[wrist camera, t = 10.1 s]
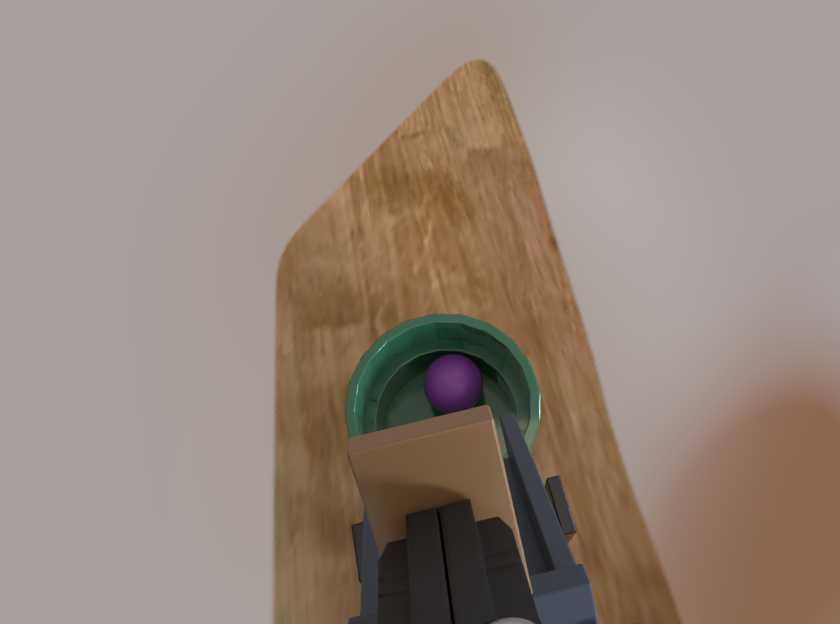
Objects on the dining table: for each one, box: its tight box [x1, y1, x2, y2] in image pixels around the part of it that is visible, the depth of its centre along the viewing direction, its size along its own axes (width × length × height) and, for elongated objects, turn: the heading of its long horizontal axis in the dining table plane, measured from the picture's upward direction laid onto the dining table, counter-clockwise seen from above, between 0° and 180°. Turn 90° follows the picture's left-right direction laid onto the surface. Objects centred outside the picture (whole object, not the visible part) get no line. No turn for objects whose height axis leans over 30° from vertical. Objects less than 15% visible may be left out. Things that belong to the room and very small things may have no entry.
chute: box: [347, 405, 598, 624], centre depth 19 cm, size 10×6×8 cm
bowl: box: [345, 314, 540, 458], centre depth 32 cm, size 9×9×5 cm
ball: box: [424, 354, 483, 414], centre depth 34 cm, size 3×3×3 cm
